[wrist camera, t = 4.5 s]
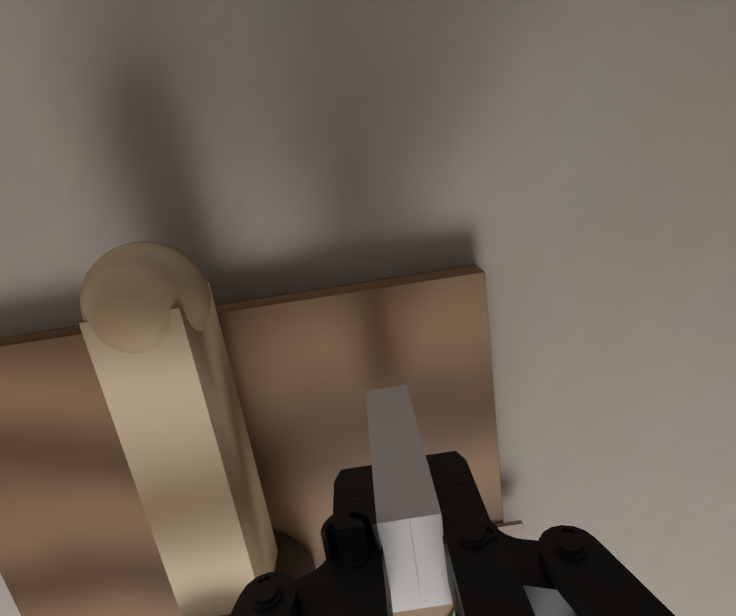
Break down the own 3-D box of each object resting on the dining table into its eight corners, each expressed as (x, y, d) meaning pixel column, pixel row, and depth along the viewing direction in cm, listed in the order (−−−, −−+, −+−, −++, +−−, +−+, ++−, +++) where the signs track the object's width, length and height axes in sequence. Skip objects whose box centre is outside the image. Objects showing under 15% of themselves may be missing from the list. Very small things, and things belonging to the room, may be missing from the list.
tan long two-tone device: (91, 241, 17) (-21, 278, 11) (235, 219, 16) (186, 246, 11) (260, 762, 25) (239, 917, 20) (356, 747, 25) (359, 899, 20)
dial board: (-75, 349, 19) (-107, 364, 18) (496, 262, 19) (508, 269, 18) (111, 752, 26) (99, 784, 25) (524, 689, 26) (534, 718, 25)
